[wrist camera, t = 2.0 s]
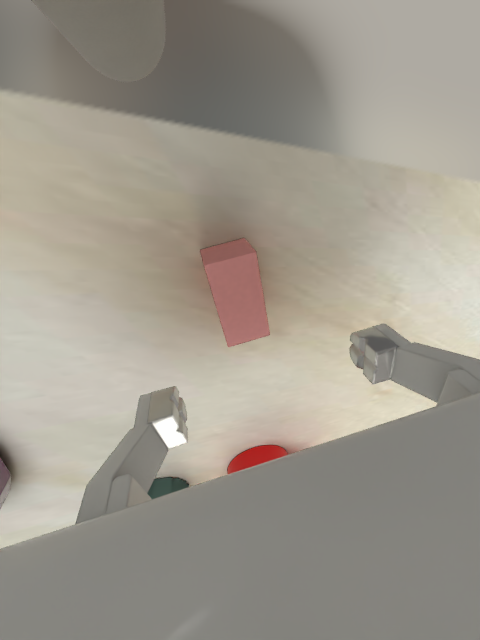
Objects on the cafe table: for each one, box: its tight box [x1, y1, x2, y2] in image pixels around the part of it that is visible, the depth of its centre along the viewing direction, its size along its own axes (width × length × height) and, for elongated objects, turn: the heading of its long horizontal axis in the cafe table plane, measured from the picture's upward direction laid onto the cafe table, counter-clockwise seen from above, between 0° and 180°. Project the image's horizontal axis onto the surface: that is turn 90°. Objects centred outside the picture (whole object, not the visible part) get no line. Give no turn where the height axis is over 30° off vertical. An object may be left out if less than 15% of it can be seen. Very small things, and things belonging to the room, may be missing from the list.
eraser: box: [200, 238, 270, 347], centre depth 17 cm, size 6×3×3 cm, turn 11°
